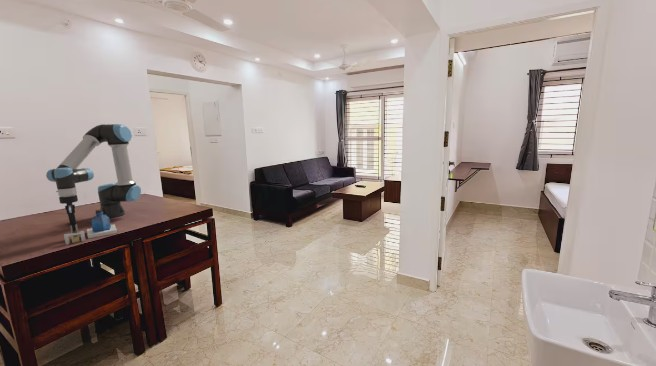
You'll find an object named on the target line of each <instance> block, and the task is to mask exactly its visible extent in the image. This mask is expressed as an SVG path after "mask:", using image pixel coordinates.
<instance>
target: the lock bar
mask: <svg viewBox="0 0 656 366" xmlns="http://www.w3.org/2000/svg"><path fill="white" fill-rule="evenodd" d="M74 232H77V230H74V231H72V232H71V233H74ZM70 237H71V243H72V244H75V243H80V241H81V240H80V234H78V235H73V236H70Z"/></svg>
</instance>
